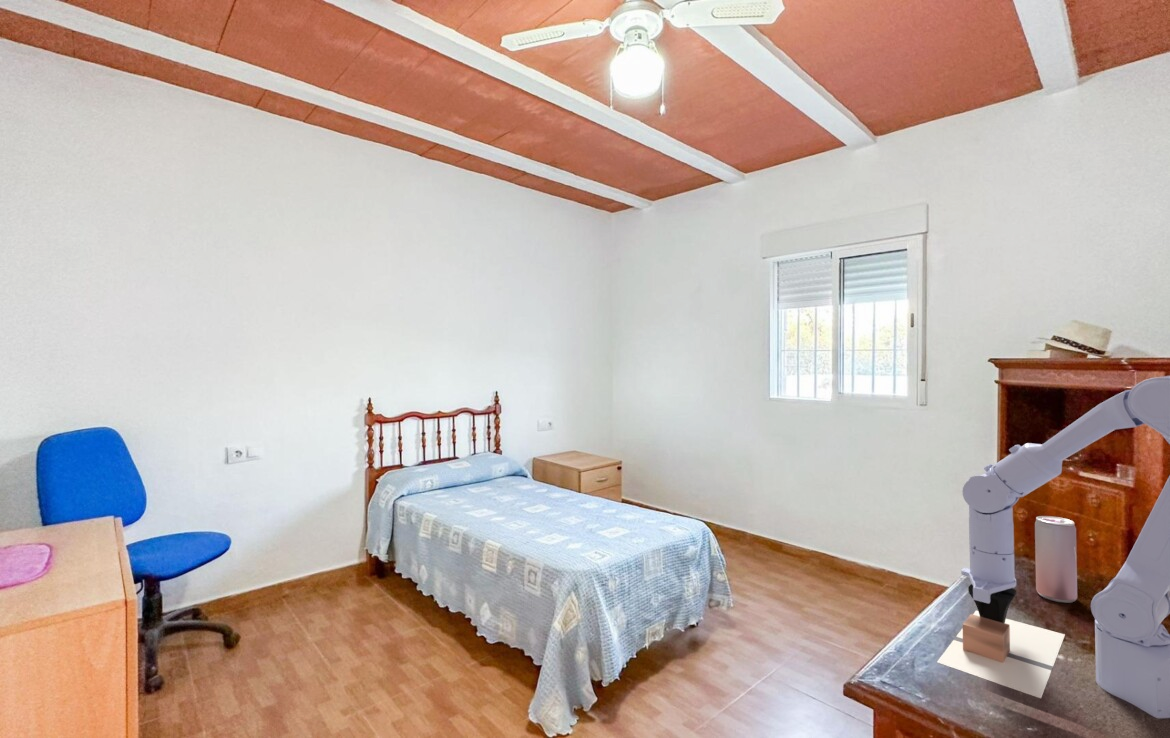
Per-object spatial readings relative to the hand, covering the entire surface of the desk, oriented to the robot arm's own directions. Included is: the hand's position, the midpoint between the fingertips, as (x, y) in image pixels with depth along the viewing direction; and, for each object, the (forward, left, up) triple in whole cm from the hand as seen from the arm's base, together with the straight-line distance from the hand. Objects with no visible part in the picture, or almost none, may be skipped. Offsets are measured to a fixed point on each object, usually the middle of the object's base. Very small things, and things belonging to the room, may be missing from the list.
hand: (992, 632), depth 85 cm
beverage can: (+17, -26, -3) cm, 31 cm away
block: (-2, +3, -1) cm, 4 cm away
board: (-2, 0, -2) cm, 3 cm away
